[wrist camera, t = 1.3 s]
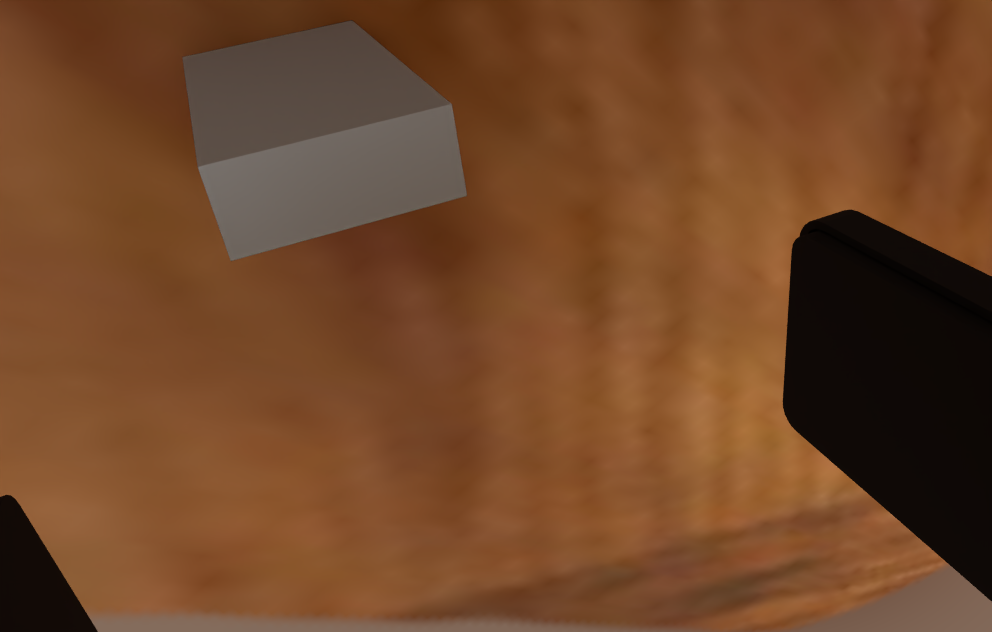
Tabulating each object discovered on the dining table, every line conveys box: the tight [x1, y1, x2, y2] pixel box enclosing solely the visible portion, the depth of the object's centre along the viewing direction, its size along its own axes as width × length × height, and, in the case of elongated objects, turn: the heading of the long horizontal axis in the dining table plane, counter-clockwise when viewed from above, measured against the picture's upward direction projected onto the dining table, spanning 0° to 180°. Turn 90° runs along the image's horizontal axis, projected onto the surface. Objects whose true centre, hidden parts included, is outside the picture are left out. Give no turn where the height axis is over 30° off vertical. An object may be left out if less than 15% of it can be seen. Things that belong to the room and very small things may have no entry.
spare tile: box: [182, 20, 467, 261], centre depth 20 cm, size 2×5×10 cm, turn 99°
